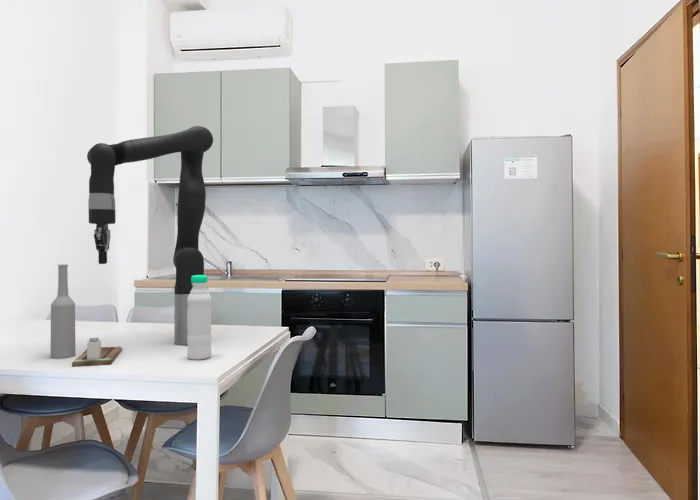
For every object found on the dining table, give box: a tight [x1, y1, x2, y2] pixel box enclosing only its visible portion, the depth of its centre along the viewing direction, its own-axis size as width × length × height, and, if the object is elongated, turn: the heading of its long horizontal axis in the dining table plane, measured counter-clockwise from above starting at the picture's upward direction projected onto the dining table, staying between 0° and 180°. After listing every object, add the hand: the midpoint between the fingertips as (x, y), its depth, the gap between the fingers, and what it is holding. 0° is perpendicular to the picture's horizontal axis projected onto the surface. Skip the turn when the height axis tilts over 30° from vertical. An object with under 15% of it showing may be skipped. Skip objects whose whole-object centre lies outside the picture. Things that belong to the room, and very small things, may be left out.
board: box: [71, 345, 123, 368], centre depth 145 cm, size 10×18×2 cm, turn 16°
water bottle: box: [186, 274, 212, 361], centre depth 147 cm, size 7×7×25 cm
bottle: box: [50, 264, 76, 360], centre depth 148 cm, size 7×7×28 cm
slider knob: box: [86, 337, 102, 360], centre depth 140 cm, size 3×3×6 cm
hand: (102, 263), depth 152 cm, fingers closed
